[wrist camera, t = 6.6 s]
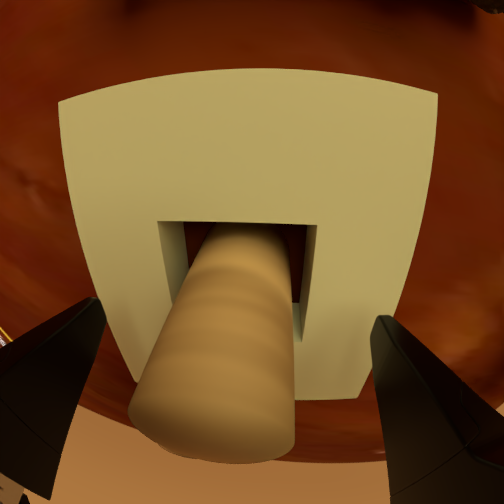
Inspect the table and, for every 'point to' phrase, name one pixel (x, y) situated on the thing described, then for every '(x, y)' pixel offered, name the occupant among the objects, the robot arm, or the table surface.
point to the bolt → (490, 5)
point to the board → (253, 197)
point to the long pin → (225, 353)
